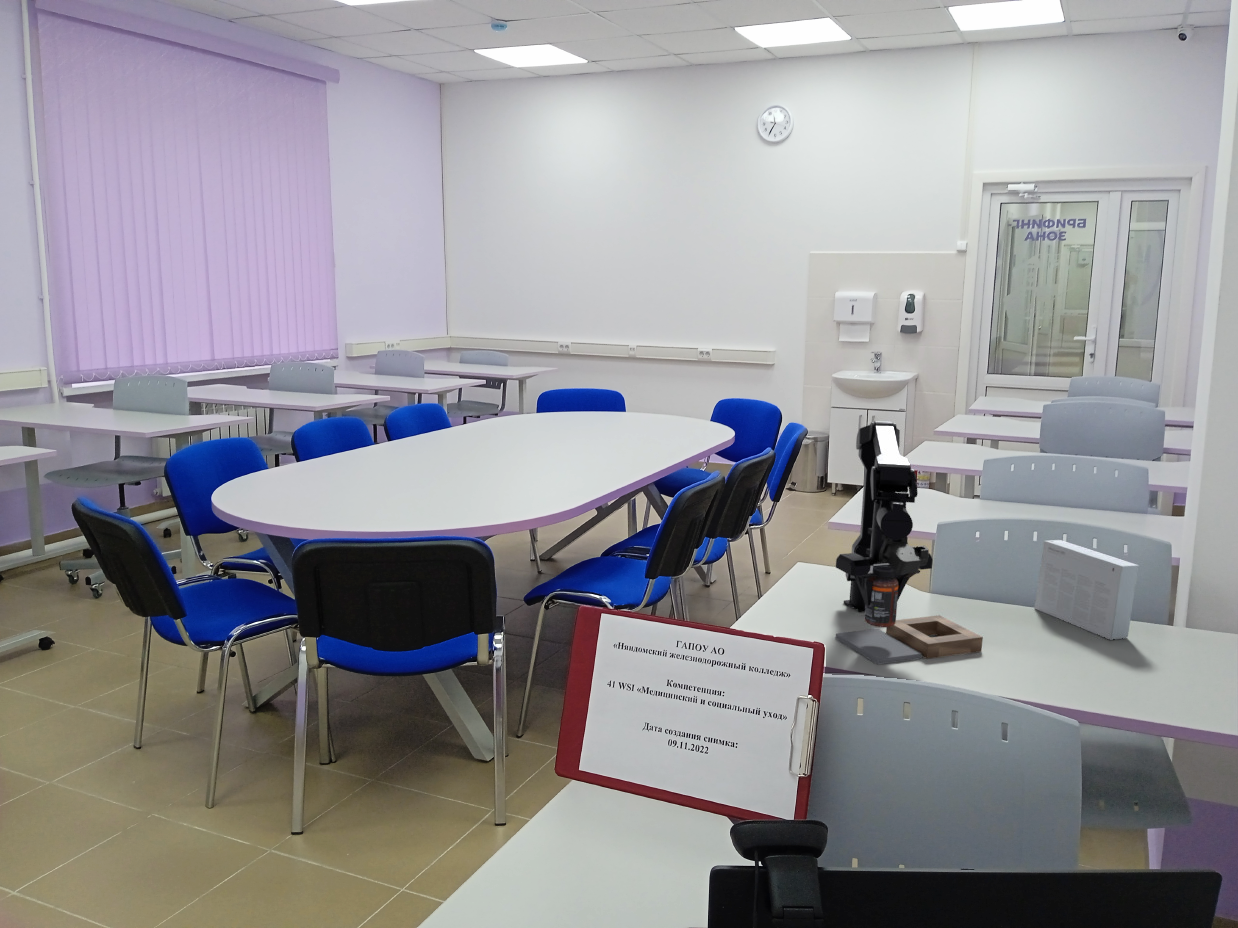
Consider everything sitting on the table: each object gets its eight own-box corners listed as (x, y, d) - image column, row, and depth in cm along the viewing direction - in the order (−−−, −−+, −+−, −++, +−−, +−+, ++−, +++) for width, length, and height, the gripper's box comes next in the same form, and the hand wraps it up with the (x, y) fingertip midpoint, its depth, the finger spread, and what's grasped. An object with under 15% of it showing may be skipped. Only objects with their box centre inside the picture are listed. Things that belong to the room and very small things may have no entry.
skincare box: (1130, 638, 202) (1140, 564, 199) (1110, 641, 200) (1120, 566, 197) (1051, 606, 221) (1060, 538, 218) (1033, 608, 219) (1041, 539, 216)
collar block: (885, 635, 199) (887, 621, 199) (937, 628, 204) (939, 615, 204) (926, 658, 188) (928, 643, 187) (981, 651, 192) (982, 636, 192)
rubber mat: (835, 638, 197) (835, 633, 197) (877, 633, 200) (877, 628, 200) (877, 664, 184) (877, 659, 184) (920, 658, 188) (921, 653, 187)
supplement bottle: (890, 618, 194) (895, 563, 192) (899, 628, 189) (904, 572, 186) (860, 617, 194) (864, 562, 192) (868, 628, 188) (873, 572, 186)
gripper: (871, 540, 177) (864, 622, 180) (955, 533, 184) (947, 612, 187) (837, 525, 187) (831, 602, 190) (917, 519, 194) (910, 594, 197)
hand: (881, 603), depth 191 cm, fingers closed on supplement bottle, 6 cm apart
